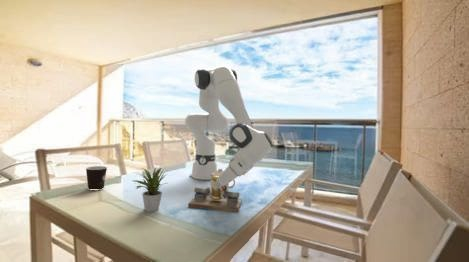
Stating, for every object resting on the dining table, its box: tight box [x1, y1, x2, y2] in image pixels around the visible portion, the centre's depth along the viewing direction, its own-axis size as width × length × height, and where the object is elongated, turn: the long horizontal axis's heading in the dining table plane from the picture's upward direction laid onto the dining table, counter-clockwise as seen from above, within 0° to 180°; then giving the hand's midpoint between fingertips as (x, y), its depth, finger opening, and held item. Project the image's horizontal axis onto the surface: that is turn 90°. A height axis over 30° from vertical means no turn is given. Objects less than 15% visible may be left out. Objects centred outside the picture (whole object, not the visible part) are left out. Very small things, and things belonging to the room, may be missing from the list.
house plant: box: [133, 166, 168, 213], centre depth 97 cm, size 14×14×16 cm
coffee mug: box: [85, 165, 108, 190], centre depth 120 cm, size 12×9×10 cm
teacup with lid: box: [210, 168, 236, 196], centre depth 122 cm, size 12×9×12 cm
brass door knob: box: [210, 175, 223, 200], centre depth 104 cm, size 5×5×9 cm
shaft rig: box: [187, 186, 243, 213], centre depth 104 cm, size 12×20×7 cm, turn 81°
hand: (215, 186), depth 104 cm, fingers closed on brass door knob, 4 cm apart
